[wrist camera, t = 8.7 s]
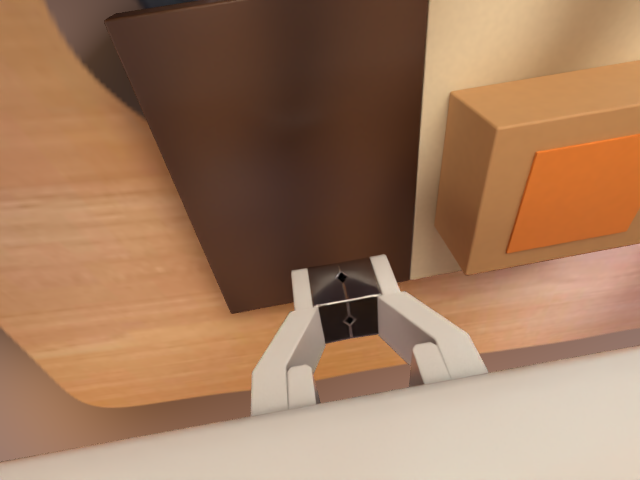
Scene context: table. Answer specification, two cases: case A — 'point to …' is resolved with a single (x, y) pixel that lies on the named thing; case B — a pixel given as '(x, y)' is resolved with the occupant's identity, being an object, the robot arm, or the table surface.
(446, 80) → the board
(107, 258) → the table surface
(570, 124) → the coffee packet
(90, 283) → the table surface
